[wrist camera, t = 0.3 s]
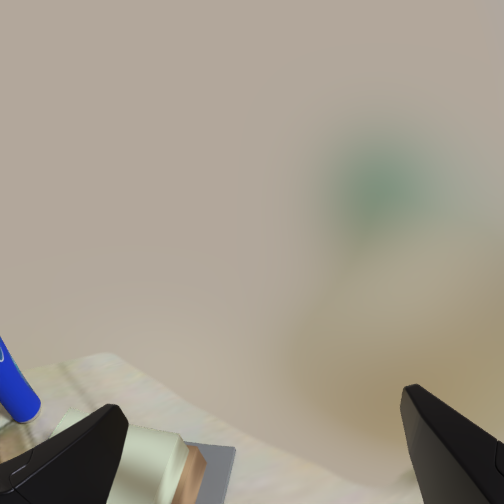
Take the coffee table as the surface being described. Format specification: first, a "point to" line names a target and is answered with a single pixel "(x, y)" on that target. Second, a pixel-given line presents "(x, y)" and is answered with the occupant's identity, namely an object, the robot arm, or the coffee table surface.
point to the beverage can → (16, 390)
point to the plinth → (151, 466)
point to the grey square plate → (214, 472)
